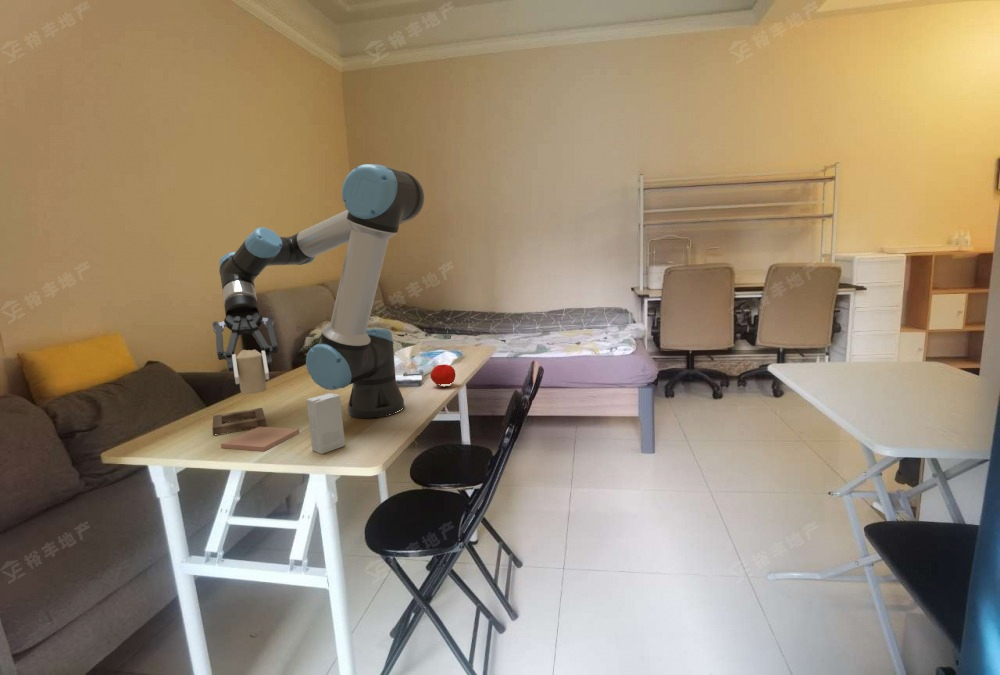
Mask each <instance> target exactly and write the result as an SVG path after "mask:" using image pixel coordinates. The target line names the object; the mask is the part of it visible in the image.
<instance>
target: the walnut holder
mask: <svg viewBox="0 0 1000 675" xmlns="http://www.w3.org/2000/svg"><path fill="white" fill-rule="evenodd" d="M255 417H256V418H255ZM249 418H251V419H249ZM242 419H246V420H242ZM236 420H240V421H236ZM229 421H234V422H229ZM266 421H267V420H266V416H265V413H264V410H263V407H258V408H252V409H247V410H240V411H235V412H229V413H223V414H216V415H215V414H214V415H212V434H213V435H215V434H221V433H226V434H228V433H227V432H232V433H235V432H234V431H237V432H240V431H239V430H243V431H246V430H245V429H248V430H252V429H251V428H254V429H255V428H257V427H267V422H266ZM223 422H228V423H223ZM221 435H222V434H221ZM215 436H216V435H215Z"/></svg>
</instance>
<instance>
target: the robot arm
mask: <svg viewBox="0 0 1000 675" xmlns="http://www.w3.org/2000/svg"><path fill="white" fill-rule="evenodd" d="M341 197H342V201H343V202H344V207H345V209H346V210H344V211H341V212H339V213H336V214H335V215H333V216H331V217H328V218H327V219H325V220H322V221H321V222H318V223H316V224H314V225H312V226H309V227H307V228H305V229H303V230H302V231H299V232H298V233H295V234H293V235H291V236H280V235H278V234H277V233H276V232H275V231H274V230H272V229H268V227H262V226H261V227H260V226H259V227H256V228H255V229H254V230H253V231H252V232H251V233H250V234H249V235H248V236H246V239H245V240H244V241H243V242H242V244H241V245H240V246H239V247H238V249H237V250H236V251H230V252H228V253H227V254H226V253H225V254H224V255H223V256H221V258H220V260H219V276H220V282H221V283H220V284H221V289H222V296H223V297H222V298H223V303H224V304H223V305H224V306H223V307H224V312H225V317H224V319H223V320H222V321H215V320H214V321H213V322H212V329H213V331H214V332H215V342H216V355H217V359H218V361H219V360H220V361H222V360H225V361H226V364H227V370H228V371H229V372H232V371H233V374H234V380H235V381H234V382H235V385H240V383H239V376H238V369H237V362H236V357H237V354H236V348H237V344H238V340H240V336H242V335H246V334H248V335H252V337H253V338H254V339H255V341H256V343H257V344H258V346H259V348H260V350H261V352H260V353H261V354H262V359H263V366H264V373H265V381H268V380H270V375H269V374H270V372H269V367H272V365H273V360H272V354H277V353H278V352H279V346H278V342H277V338H276V333H275V328H274V325H275V323H274V322H275V320H274V316H271V315H270V316H268V317H263V315H262V314H261V313H260V310H259V305H258V304H259V303H258V298H257V292H256V287H255V280H256V278H257V277H258V276H259V275H260V274H261V273H262V272H263V270H265V268H266V267H268V266H270V267H271V266H295V265H296V266H302V265H308V264H310V263H312V262H313V261H314V260H315V258H316V257H318V256H320V255H322V254H324V253H326V252H329V251H331V250H333V249H336V248H338V247H341V246H342V245H345V244H347V249H346V253H345V257H344V261H343V265H342V271H341V275H340V279H339V284H338V288H337V294H336V297H335V298H336V299H335V301H334V302H335V303H334V306H333V311H332V316H331V320H330V324H328V325H326V326H325V327H323V328H322V330H321V334H320V338H319V342H318V343H317V344H315V345H313V346H312V347H311V348H310V349H309V350H308V352H307V354H306V357H305V366H306V370H307V372H308V375H310V378H311V379H312V381H313V382H314V383H315V384H317V386H319V387H321V388H322V389H324V390H327V391H328V390H329V391H336V390H338V389H344V388H346V387H348V386H350V385H352V387H351V388H352V389H351V392H350V396H349V400H348V405H347V410H348V415H349V416H351V417H354V418H359V419H375V418H374V417H377V418H382V417H381V416H384V417H387V416H386V415H389V414H392V415H394V414H393V413H395V412H397V411H399V410H401V409H402V408H403V407H404V408H405V400H404V398H403V394H402V392H401V390H400V388H399V385H398V382H397V379H396V377H397V376H396V366H395V352H394V340H393V334H392V332H391V330H390V329H389V328H368V326H369V323H370V322H369V321H370V318H371V314H372V313H371V312H372V309H373V306H374V301H375V298H376V294H377V289H378V285H379V281H380V277H381V273H382V269H383V265H384V260H385V258H386V253H387V248H388V244H389V240H390V239H391V238H392V237H394V236H396V235H397V234H398V231H399V227H400V225H401V224H403V223H406V222H408V221H411V220H413V219H415V218H416V217H417V216H418V215H419V214H420V213H421V211H422V209H423V207H424V203H425V193H424V189H423V186H422V185H421V183H420V181H419V180H418V179H417V178H416V177H415V176H413V175H412V174H410V173H408V172H405V171H401V170H398V169H393V168H391V167H387V166H385V165H381V164H378V163H377V164H373V163H365V164H361V165H358V166H357V167H355V168H354V169H352V170H351V171H350V172H349V173H348V174H347V176H346V178H345V179H344V182H343V184H342V189H341ZM262 324H263V325H264V327H265V328H267V335H268V339H269V342H270V345H269V344H268V343H267V341H266V339H265V337H264V336H263V334H262V332H261V331H260V329H259V327H260V326H261V325H262ZM225 328H228V330H230V331H231V333H230V336H229V340H228V343H227V344H228V345H227V348H226V351H224V338H223V333H224V330H225ZM395 414H396V413H395ZM389 416H390V415H389Z"/></svg>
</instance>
